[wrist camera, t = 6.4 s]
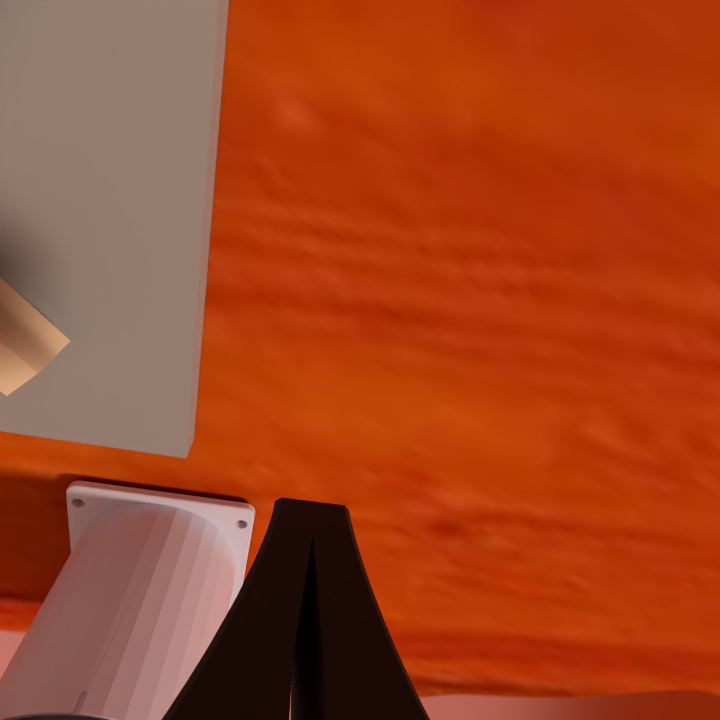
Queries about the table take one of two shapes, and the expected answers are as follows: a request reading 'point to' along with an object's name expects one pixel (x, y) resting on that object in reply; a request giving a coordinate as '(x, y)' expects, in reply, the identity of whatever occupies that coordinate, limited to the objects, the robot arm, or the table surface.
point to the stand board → (110, 209)
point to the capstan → (24, 340)
